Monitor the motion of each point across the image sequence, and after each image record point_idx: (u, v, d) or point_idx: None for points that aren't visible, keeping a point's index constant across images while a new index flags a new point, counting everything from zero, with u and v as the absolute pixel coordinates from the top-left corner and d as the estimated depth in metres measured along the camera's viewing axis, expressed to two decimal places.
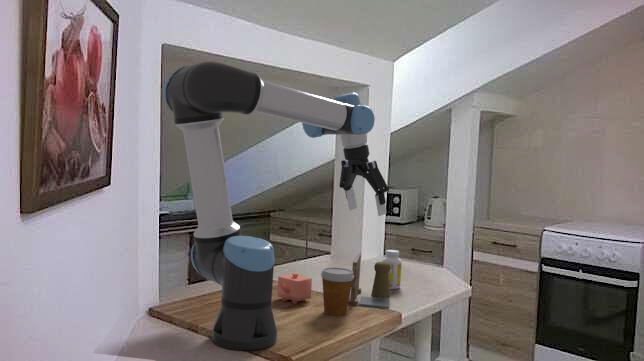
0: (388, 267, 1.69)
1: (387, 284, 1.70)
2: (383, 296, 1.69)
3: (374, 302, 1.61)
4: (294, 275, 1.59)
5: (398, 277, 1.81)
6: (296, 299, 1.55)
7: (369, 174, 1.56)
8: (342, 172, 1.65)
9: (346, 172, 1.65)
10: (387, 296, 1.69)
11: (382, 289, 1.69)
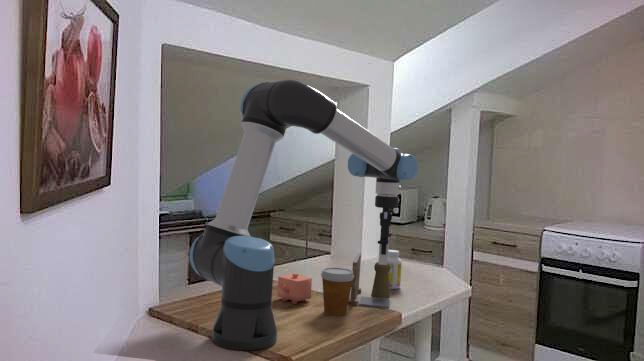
0: (388, 267, 1.69)
1: (387, 284, 1.70)
2: (383, 296, 1.69)
3: (374, 302, 1.61)
4: (294, 275, 1.59)
5: (398, 277, 1.81)
6: (296, 299, 1.55)
7: None
8: None
9: None
10: (387, 296, 1.69)
11: (382, 289, 1.69)
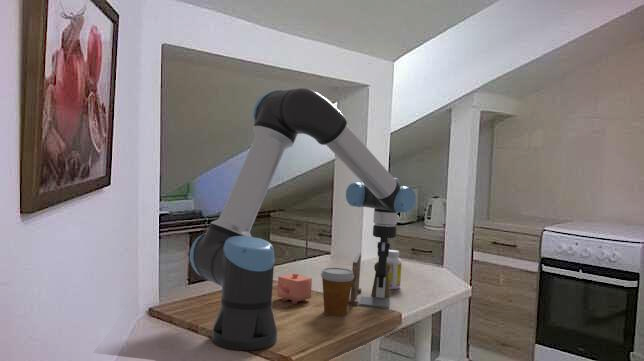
0: (388, 267, 1.69)
1: (387, 284, 1.70)
2: None
3: (374, 302, 1.61)
4: (294, 275, 1.59)
5: (398, 277, 1.81)
6: (296, 299, 1.55)
7: None
8: None
9: None
10: (387, 296, 1.69)
11: None
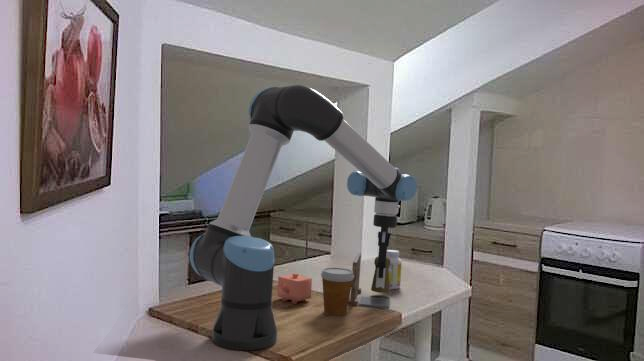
0: (388, 262, 1.69)
1: (387, 279, 1.69)
2: (383, 291, 1.68)
3: (374, 302, 1.61)
4: (294, 275, 1.59)
5: (398, 277, 1.81)
6: (296, 299, 1.55)
7: None
8: None
9: None
10: (387, 291, 1.68)
11: None
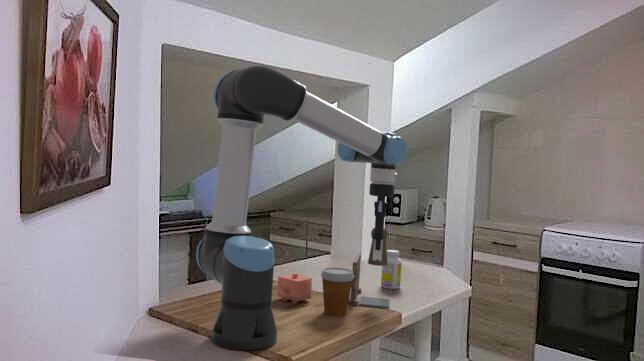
0: (386, 233, 1.59)
1: (385, 251, 1.59)
2: (381, 263, 1.58)
3: (374, 302, 1.61)
4: (294, 275, 1.59)
5: (398, 277, 1.81)
6: (296, 299, 1.55)
7: None
8: None
9: None
10: (385, 264, 1.59)
11: None
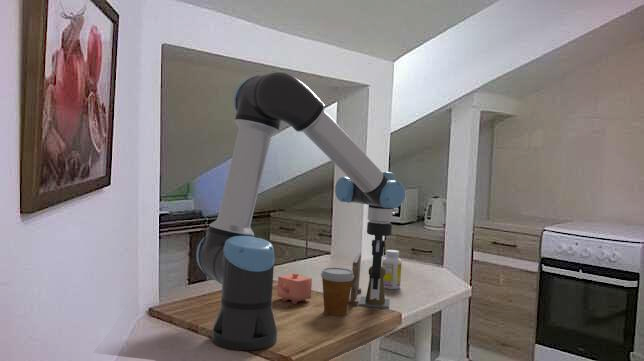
0: (383, 271, 1.59)
1: (382, 289, 1.60)
2: (378, 302, 1.58)
3: None
4: (294, 275, 1.59)
5: (398, 277, 1.81)
6: (296, 299, 1.55)
7: None
8: None
9: None
10: (382, 302, 1.59)
11: None
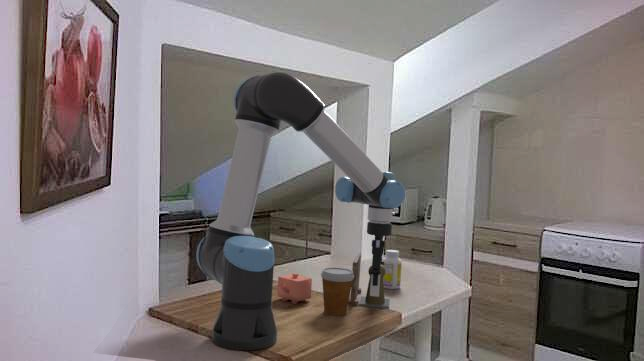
0: (383, 271, 1.60)
1: (382, 289, 1.60)
2: (378, 302, 1.59)
3: None
4: (294, 275, 1.59)
5: (398, 277, 1.81)
6: (296, 299, 1.55)
7: None
8: None
9: None
10: (382, 302, 1.60)
11: None
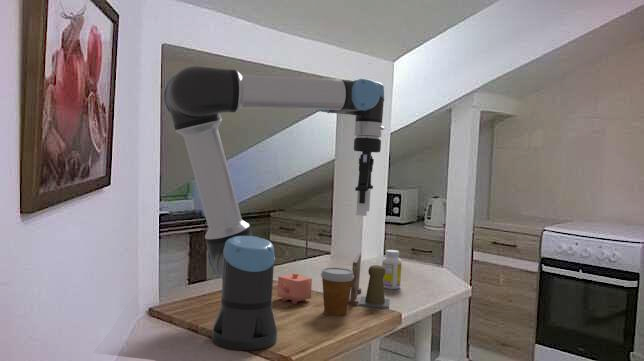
0: (383, 271, 1.60)
1: (382, 289, 1.60)
2: (378, 302, 1.59)
3: None
4: (294, 275, 1.59)
5: (398, 277, 1.81)
6: (296, 299, 1.55)
7: None
8: None
9: None
10: (382, 302, 1.60)
11: (377, 294, 1.59)
